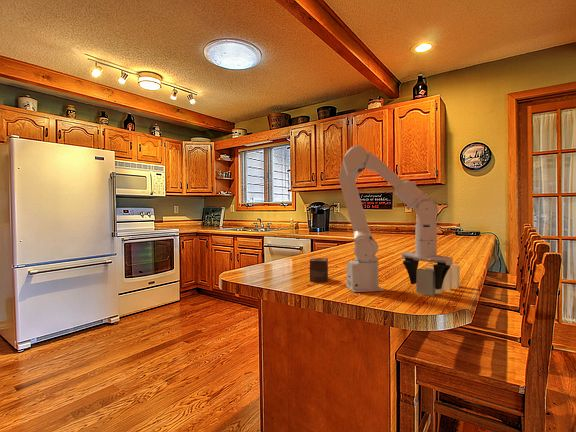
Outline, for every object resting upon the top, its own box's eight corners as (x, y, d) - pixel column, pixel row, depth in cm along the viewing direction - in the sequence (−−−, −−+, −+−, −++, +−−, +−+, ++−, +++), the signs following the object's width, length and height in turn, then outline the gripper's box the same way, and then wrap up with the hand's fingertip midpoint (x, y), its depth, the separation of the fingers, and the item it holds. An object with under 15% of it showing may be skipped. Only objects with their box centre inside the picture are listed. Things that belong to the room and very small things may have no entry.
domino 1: (432, 296, 89) (432, 271, 89) (416, 292, 93) (416, 269, 93) (435, 295, 90) (435, 271, 90) (419, 291, 94) (419, 268, 94)
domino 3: (449, 290, 95) (449, 267, 95) (433, 287, 99) (433, 265, 99) (452, 289, 96) (452, 266, 96) (436, 286, 100) (436, 264, 100)
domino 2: (441, 293, 92) (441, 269, 92) (425, 289, 96) (425, 267, 96) (443, 292, 93) (444, 268, 93) (427, 288, 97) (428, 266, 97)
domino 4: (457, 287, 98) (457, 265, 98) (441, 284, 102) (441, 263, 102) (459, 286, 99) (459, 265, 99) (443, 283, 103) (443, 262, 103)
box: (326, 282, 107) (326, 261, 106) (309, 281, 108) (309, 260, 108) (328, 278, 113) (328, 258, 112) (311, 277, 114) (311, 257, 114)
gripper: (458, 241, 88) (457, 288, 88) (410, 237, 100) (410, 279, 100) (445, 242, 84) (445, 293, 84) (397, 238, 95) (397, 283, 96)
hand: (425, 286), depth 92 cm, fingers open, 7 cm apart
